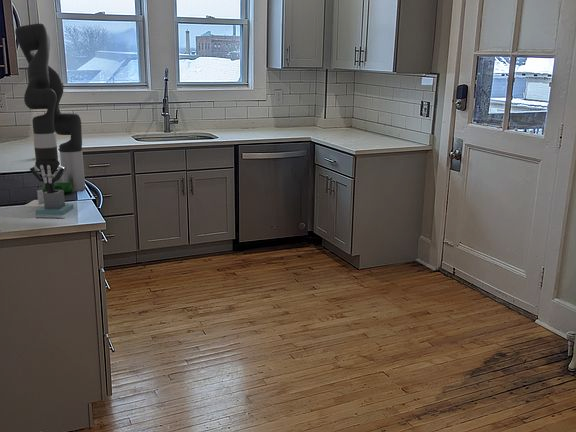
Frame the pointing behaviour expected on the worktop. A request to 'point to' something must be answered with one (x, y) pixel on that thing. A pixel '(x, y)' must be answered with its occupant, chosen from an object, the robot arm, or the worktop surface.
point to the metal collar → (54, 199)
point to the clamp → (61, 187)
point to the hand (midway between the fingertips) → (50, 192)
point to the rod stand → (37, 202)
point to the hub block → (54, 211)
